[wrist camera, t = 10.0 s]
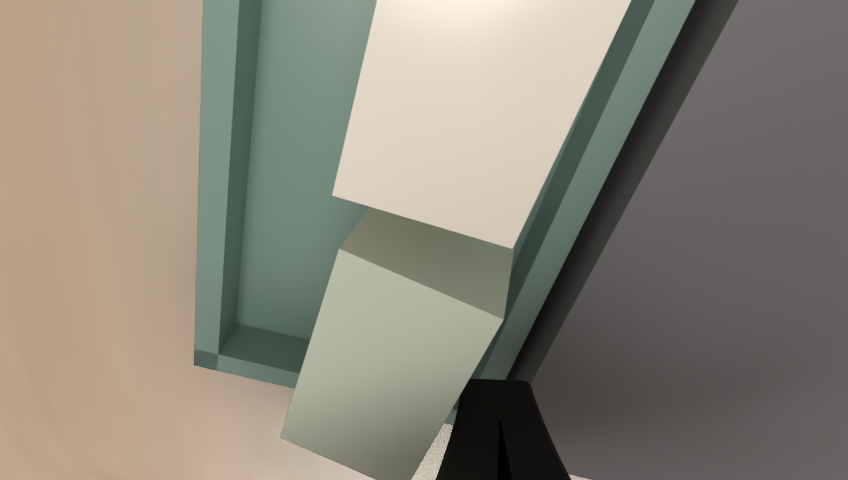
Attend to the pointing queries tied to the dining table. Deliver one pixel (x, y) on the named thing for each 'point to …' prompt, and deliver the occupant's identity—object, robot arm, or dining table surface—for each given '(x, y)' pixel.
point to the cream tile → (469, 107)
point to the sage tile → (396, 342)
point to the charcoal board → (713, 266)
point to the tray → (318, 165)
